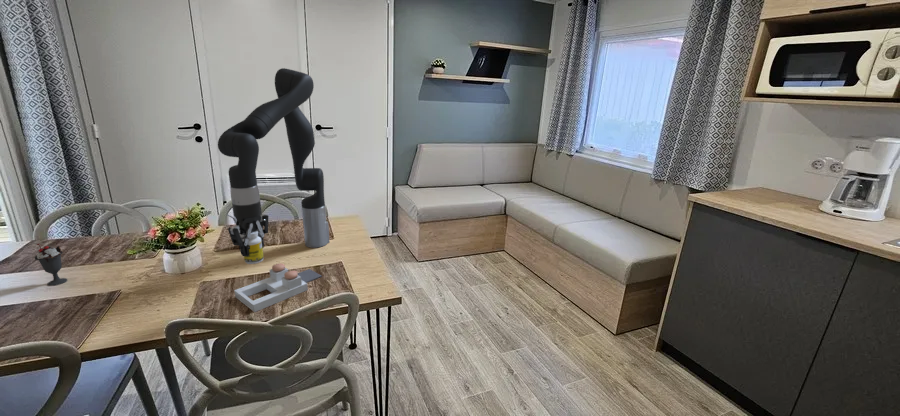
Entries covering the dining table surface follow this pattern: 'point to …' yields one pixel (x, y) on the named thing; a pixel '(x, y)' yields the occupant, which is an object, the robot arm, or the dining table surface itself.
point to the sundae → (51, 263)
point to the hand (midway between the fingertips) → (253, 251)
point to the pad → (309, 275)
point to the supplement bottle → (254, 249)
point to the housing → (271, 290)
